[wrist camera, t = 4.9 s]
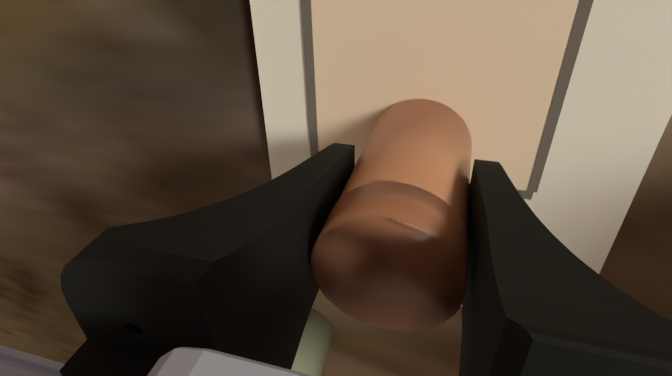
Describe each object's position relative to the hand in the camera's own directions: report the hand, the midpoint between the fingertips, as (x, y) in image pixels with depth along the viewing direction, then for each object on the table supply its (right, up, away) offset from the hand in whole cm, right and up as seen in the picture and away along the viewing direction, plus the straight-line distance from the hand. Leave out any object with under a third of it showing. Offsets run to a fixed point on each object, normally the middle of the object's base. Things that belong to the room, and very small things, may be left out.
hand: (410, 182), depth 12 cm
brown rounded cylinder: (+1, +1, +2) cm, 2 cm away
